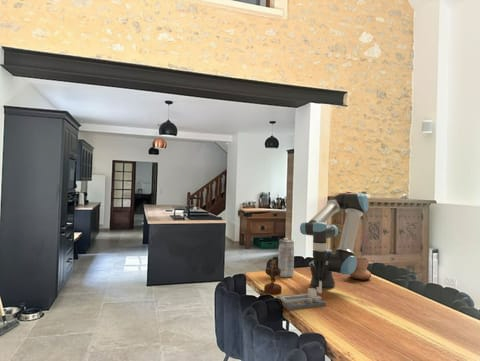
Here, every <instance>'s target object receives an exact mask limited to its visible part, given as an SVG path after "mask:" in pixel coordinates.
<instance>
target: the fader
mask: <svg viewBox="0 0 480 361" xmlns="http://www.w3.org/2000/svg"><path fill="white" fill-rule="evenodd" d="M307 293H308V297H309V298H311V297H316V294H317V289H316V288H315V287H312V288H307Z"/></svg>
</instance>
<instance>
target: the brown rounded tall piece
mask: <svg viewBox="0 0 480 361" xmlns="http://www.w3.org/2000/svg"><path fill="white" fill-rule="evenodd" d="M265 273H266V275H268V276H269V277H270V279H269V280H270V283H266V284H265V285H264V288H263V292H264V293H265V294H267V295H274V296H275V295H276V296H278V295H280V294H282V289H283V288H282V285H281V284H279V283H275V282H276V278H275V277H277V276H280V273H281V270H280V268H278V266H277V260H276V259H274V258H273V259H272V260H271V261H270V263H269V266H268V267H266V268H265Z"/></svg>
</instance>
